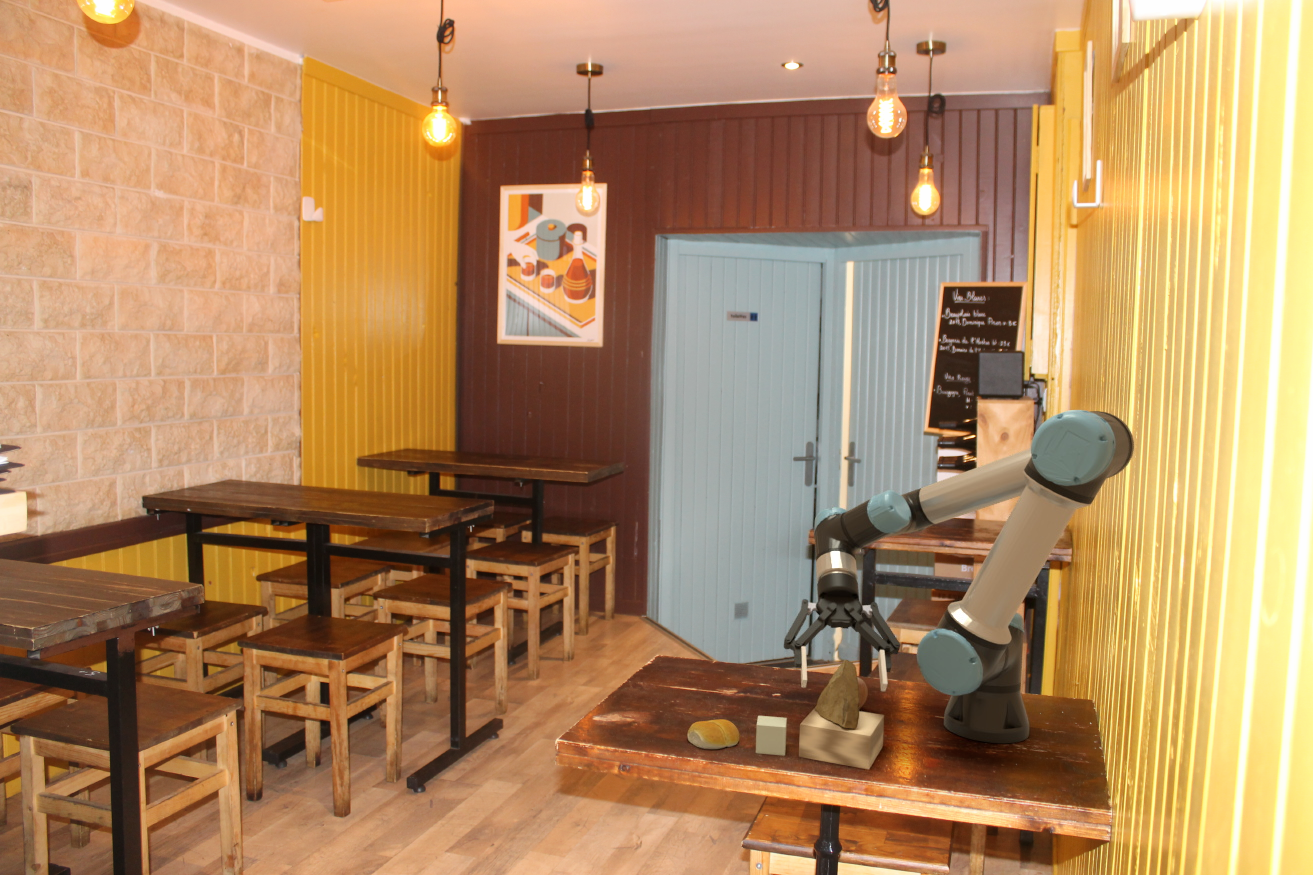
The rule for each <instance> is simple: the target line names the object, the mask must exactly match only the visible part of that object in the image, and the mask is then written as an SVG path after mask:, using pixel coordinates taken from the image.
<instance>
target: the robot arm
mask: <svg viewBox="0 0 1313 875" xmlns="http://www.w3.org/2000/svg"><path fill="white" fill-rule="evenodd" d="M1134 451H1135V441H1134V437H1133V434H1132V431H1131V429H1130V428H1129V426H1128V425H1127V424H1126V423H1125V422H1124V420H1122V419H1121V418H1120V417H1118V416H1116V415H1114V414H1112V413H1109V412H1106V411H1099V410H1095V411H1094V410H1093V411H1092V410H1090V411H1088V410H1084V409H1072V410H1071V409H1070V410H1065V411H1062V412H1060V413H1057V414H1055V415H1052V416H1051V417H1049V418H1048V419H1046V420H1045V421H1044V422H1043V423H1042V424H1040V426H1039V427H1038V428H1037V429H1036V431H1035V433H1034V435H1033V437H1032V441H1031V444H1030V448H1027V449H1025V450H1022V451H1018V452H1016V453H1014V454H1011V455H1009V456H1005V457H1002V458H1000V459H998V460H994V461H992V462H989V463H986V464H984V465H981V466H978V467H975V468H972V469H969V470H967V471H963V472H962V473H958V474H956V475H953V476H950V477H948V478H945V479H942V480H939V481H936V482H933V483H932V484H929V485H925V486H924V487H921V488H917V489H915V490H914V489H913V490H912V491H911V490H910V491H908V492H907V493H906V492H905V493H903V494H900V493H898V492H897V491H895V490H892V489H888V490H886V491H883V492H881V493H879V494H875V495H873V496H872V497H871V498H869V499H867V500H866V501H864V502H862V503H861V504H858V505H856V506H855V507H853V508H851V509H849V510H847V509H845V508H843V507H838V506H834V507H832V508H825V509H822V510H821V511H819V512H818V514H817V515H816V516H815V519H814V527H813V528H814V530H813V537H814V539H813V540H814V549H815V564H816V582H817V583H816V589H817V591H816V592H817V593H816V594H817V602H810V601H809V600H808V599H806V598H803V599H802V600H801V606H800V610H799V612H798V614H797V615H796V617H795V619H794V621H793V623H792V624H791V625H790V626H791V627H790V628H789V629H788V632H787V633H786V635H785V637H784V640H783V648H784V649H785V650H791V651H793V657H794V658H793V659H794V660H793V664H794V667H795V668H796V669H800V683H801V684H800V685H801V688H807V684H808V683H807V682H808V670H807V669H808V668H807V666H808V665H807V646H808V645H809V643H810V642H811V641H812V640H813V639H814V638H815V637H816V636H817V635H818V634H820V632H821V631H823V630H824V629H826V627H827V626H828V627H830V629H837V628H842V629H846V630H847V629H849V628H852V629H853V630H854V631H855V632H856V633H858V634H859V635H861V636H862V637H863V638H864V639H865V640H866V641H867V642H868V643H869V644H870V645H871V646H872V647H873V648H874V649H875V650H876V651H877V652H878V656H877V664H878V673H879V674H878V675H879V683H880V685H879V686H880V692H886V691H887V687H888V685H889V684H888V673H890V672H891V669H892V667H893V664H892V655H898V653H899V652H900V650H901V643H900V641H899V639H898V638H897V637H896V635H895V634H894V632H893V631H892V629H891V628H890V626H889V625H888V623H887V622H886V620H885V619H884V617H883V616H882V614H881V613H880V610H879V605H878V603H877V602H875V601H872V602H871V603H870V604H868V605H867V604H866V605H863V604H862V603H861V601H860V593H859V590H860V589H859V583H858V582H859V581H858V570H857V556H856V552H858V551H860V550H861V549H864V548H866V547H868V546H870V545H872V544H874V543H876V542H879V541H880V540H882V539H885V538H890V537H896V536H900V535H903V534H909V533H912V534H913V533H917V532H920V531H921V532H922V531H923V530H925V529H926V528H929V527H931V526H934V525H937V524H939V523H942V522H946V521H949V520H951V519H952V520H953V519H955V518H959V517H960V516H964V515H967V514H969V513H970V514H971V513H973V512H976V511H979V510H983V509H985V508H988V507H990V506H991V507H992V506H994V505H997V504H1000V503H1003V502H1006V501H1008V500H1013V499H1015V498H1018V500H1017V501H1016V503H1015V505H1014V507H1013V509H1012V510H1011V512H1010V514H1009V516H1008V517H1007V519H1006V521H1005V522H1004V524H1003V526H1002V529H1001V530H1000V532H999V534H997V536H996V539H995V541H994V542H993V544H992V546H991V548H990V550H989V551H988V552H987V555H986V557H985V559H984V560H983V562H982V564H981V565H980V568H979V569H978V570H977V572H976V574H975V576H974V578H973V580H972V582H971V583H970V585H969V587H968V589H967V591H966V593H965V594H964V596H963V598H962V600H959V601H954V602H953V601H952V602H951V603H949V604H948V606H947V608H946V610H945V611H944V613H943V615H942V617H941V619H940V620H939V622H938V623H937V626H936V627H935V629H932V630H930V631H929V632H927V633H926V634H925V635H924V636H923V637H922V638H921V639H920V641H919V644H918V645H917V649H916V650H917V651H916V661H917V664H918V668H919V671H920V674H921V675H922V677H923V678H924V680H925V681H926V682H927V683H928V684H929V686H931V687H932V688H933V689H934V690H937V691H938V692H940V693H942V694H945V695H949V696H950V698H949V699H948V703H947V705H946V708H945V709H944V710H945V711H944V714H943V716H944V718H943V726H944V727H945V729H947V730H948V731H949V732H951V733H952V734H955V735H957V736H959V737H963V738H965V739H969V740H974V741H978V742H985V743H990V744H991V743H993V744H1013V743H1019V742H1023V741H1026V739H1028V737H1029V735H1030V721H1029V717H1028V714H1027V711H1026V710H1027V709H1026V707H1025V703H1024V701H1023V697H1022V693H1021V689H1022V686H1021V685H1022V670H1023V668H1022V667H1023V650H1024V649H1023V648H1024V635H1025V629H1024V618H1023V616H1022V614H1020V613H1019V612H1018V610H1019V608H1020V607H1021V605H1022V603H1023V601H1024V599H1025V598H1026V597H1027V595H1028V593H1029V591H1030V590H1031V588H1032V586H1033V585H1034V583H1035V581H1036V579H1037V577H1038V576H1039V575H1040V572H1041V571H1042V569H1043V567H1044V565H1045V564H1046V562H1047V560H1048V559H1049V557H1050V555H1051V553H1052V552H1053V551H1054V549H1055V546H1057V543H1058V542H1059V539H1060V538H1061V537H1062V535H1063V533H1064V532H1065V529H1067V526H1068V525H1069V523H1070V521H1071V520H1072V518H1073V516H1074V514H1075V513H1076V511H1077V510H1078V509H1081V508H1082V509H1083V508H1086V507H1089V506H1091V505H1092V503H1094V502H1093V501H1094V500H1095V499H1096V497H1097V495H1098V493H1099V491H1100V490H1101V488H1102V487H1103V485H1104V483H1105V481H1106V480H1107V479H1110V478H1112V477H1115V476H1117V475H1118V474H1119V473H1121V472H1123V470H1125V468H1127V466H1128V465H1129V463H1130V462H1131V460H1132V458H1133V456H1134ZM813 612H815V613H816V614H817V615H818V616H817V618H816V620H815V621H814V622H813V623H811V625H810V626H808V628H807V629H806V630H805V631H804V632H803V633H802V634H801V635H800V636H798V635H799V633H800V631H801V629H802V627H803V625H804V624H805V622H806V620H807V618H808V617H807V616H810V615H812V614H813ZM863 614H865V615H866V617H867V618H868V619H870V621H871V623H872V624H873V626H874V628H875V629H876V631H875V630H874V629H873V628H872V627H871V626H870V625H869V624H868V623H867V622H866V621H865V619H864V617H863V616H862V615H863ZM878 633H879V634H878ZM797 637H798V638H797ZM796 638H797V639H796Z"/></svg>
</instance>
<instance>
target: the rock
mask: <svg viewBox="0 0 1313 875" xmlns="http://www.w3.org/2000/svg"><path fill="white" fill-rule="evenodd" d="M857 677H858V672H857V667H856V665H855V664H854V663H853V662H851V660H848V659H844V660H843V661H842V662H841V663H840V665H839V666H838V667H837V669H836V670H835V671H834V673H833V674H832V676H831V678H830V679H829V681H828V684H827V685H826V686H825V687H824V688H823V690H822V692H821V693H820V695H819V697H818V699H817V702H816V706H815V707H814V708H813V709H815V710H817V711H818V712H819V714H820V715H821V716H823V717H824V718H826V719H828V720H831V721H832V722H834V723H837V724H839V725H840V726H842V727H844V728H852V729H856V728H857V725H858V719H859V711H860V709H859V704H860V699H859V684H858V679H857Z"/></svg>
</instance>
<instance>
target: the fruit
mask: <svg viewBox="0 0 1313 875" xmlns="http://www.w3.org/2000/svg"><path fill="white" fill-rule="evenodd" d="M857 679H858V684H859V699H860V704H859V710H860V709H861V708H862V707H863V705H865V703H866V702H867V699H868V693H869V692H868V687H867V684H866V682H865V681H864V680H863V679H862V678H860V677H858V676H857Z"/></svg>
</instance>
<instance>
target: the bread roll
mask: <svg viewBox="0 0 1313 875" xmlns="http://www.w3.org/2000/svg"><path fill="white" fill-rule="evenodd" d="M687 740H688V742H689V743H691V744H692V745H693V746H695V747H697V748H700V749H705V750H719V749H724V748H726V747H727V748H728V747H729V748H730V747H735V746H736V745H737V744H738V742H739V740H740V731H739V729H738V728H737V726H736V725H735V724H734V723H733V722H731V721H730V720H728V719H725V718H724V719H723V718H722V719H721V718H720V719H711V720H710V719H709V720H703V721H702V720H701V721H700V720H699V721H696V722H693V723H692V724H691V725H690V727H689V728H688V731H687Z"/></svg>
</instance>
